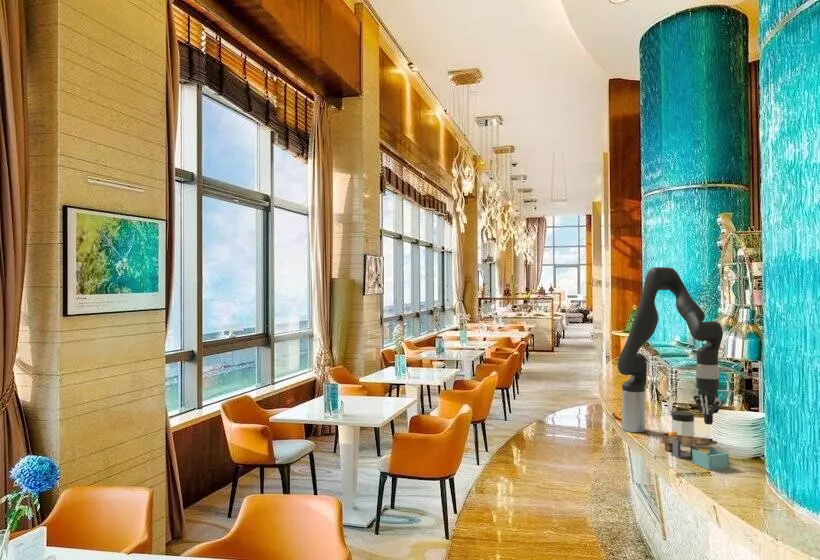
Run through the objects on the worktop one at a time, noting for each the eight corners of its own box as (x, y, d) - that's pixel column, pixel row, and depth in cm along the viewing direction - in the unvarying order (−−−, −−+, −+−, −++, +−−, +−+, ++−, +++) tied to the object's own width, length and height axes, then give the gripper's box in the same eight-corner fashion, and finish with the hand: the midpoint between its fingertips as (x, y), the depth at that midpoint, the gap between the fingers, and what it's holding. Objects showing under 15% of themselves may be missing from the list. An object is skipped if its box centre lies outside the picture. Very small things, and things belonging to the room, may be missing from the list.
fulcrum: (670, 455, 230) (670, 437, 230) (691, 452, 232) (691, 435, 232) (679, 458, 225) (679, 441, 225) (700, 456, 227) (700, 439, 227)
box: (692, 463, 219) (692, 449, 219) (710, 461, 221) (710, 447, 221) (709, 470, 211) (709, 455, 211) (728, 468, 213) (728, 453, 213)
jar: (690, 440, 250) (689, 410, 250) (699, 445, 242) (698, 415, 241) (667, 440, 250) (667, 411, 250) (676, 445, 242) (676, 415, 242)
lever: (664, 450, 236) (662, 433, 237) (686, 448, 238) (684, 431, 239) (696, 455, 218) (694, 436, 219) (720, 452, 221) (717, 434, 222)
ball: (668, 440, 235) (665, 432, 237) (675, 439, 236) (672, 431, 237) (673, 438, 232) (670, 430, 234) (680, 438, 233) (678, 429, 235)
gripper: (686, 374, 229) (687, 421, 229) (712, 379, 216) (713, 429, 216) (703, 373, 231) (704, 419, 231) (729, 378, 218) (730, 427, 218)
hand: (708, 424), depth 224 cm, fingers closed
